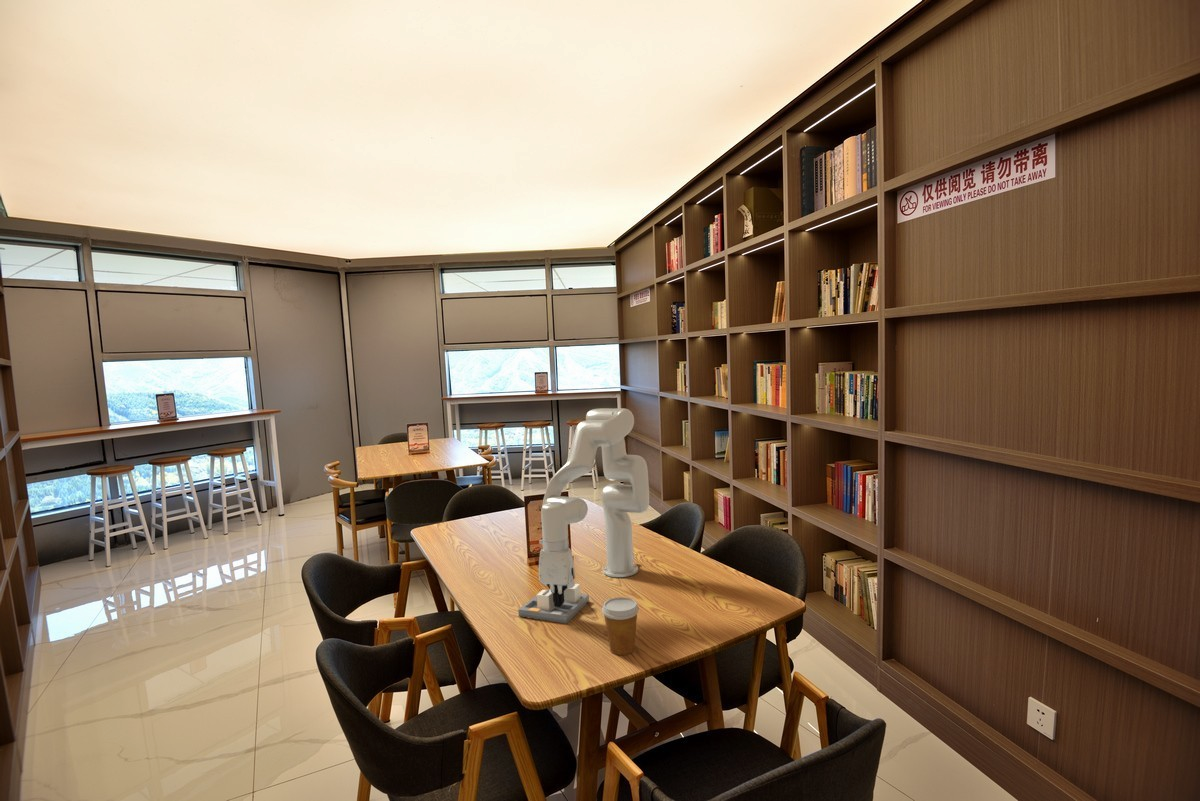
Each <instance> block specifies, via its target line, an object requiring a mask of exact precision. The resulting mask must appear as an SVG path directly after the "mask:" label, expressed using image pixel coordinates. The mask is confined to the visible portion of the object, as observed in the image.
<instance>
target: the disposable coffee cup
mask: <svg viewBox="0 0 1200 801" xmlns="http://www.w3.org/2000/svg"><path fill="white" fill-rule="evenodd" d="M603 602H604V603H603V606H602V608H601V612H602V614H603V617H604V621H605V628H606V634H607V640H608V646H609V651H610V652H611V653H612V654H613V655H617V656H627V655H631V654H632V653H633V652H634V651H635V648H636V647H635V646H636V635H637V634H636V633H637V620H638V612H639V610H640V608H639V606H638V603H637V601H636V600H635V599H633V598H631V597H622V596H621V597H620V596H619V597H618V596H617V597H611V598H609V599H607V600H605V601H603Z"/></svg>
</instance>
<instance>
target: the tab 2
mask: <svg viewBox="0 0 1200 801" xmlns="http://www.w3.org/2000/svg"><path fill="white" fill-rule="evenodd" d="M580 594H581V584H579V583H575V586H574V587H573V588H567V589H566V590H565V591H564V602H571V603H577V602H578V601H579V600H580V599H581V596H580Z"/></svg>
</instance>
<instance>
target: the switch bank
mask: <svg viewBox="0 0 1200 801" xmlns="http://www.w3.org/2000/svg"><path fill="white" fill-rule="evenodd" d="M543 590H550V589H549V588H548V589H545V588H544V589H543ZM550 591H551V590H550ZM580 596H581V599H580V600H579V601H578V602H577V603H571V602H564V603H563V604H562V605H561V606H560V607H557V606H556V607H555V608H554V609H553V610H552V611H549V610H542V609H538V608H537V594H536V595H535V596H533V597H532V598H531V599H529V601H527V602H526V603H525V604H523V605H522V606H521V607H520V608H518V610H517V611H518V617H519V616H522V617H521V618H524V617H529V618H528V619H531V618H534V620H538V619H540V621H545V620H547V622H554V623H561V624H568V623H569V622H570V621H571V620H572V619H573V618H574V617H575V616H577V615H578V613H579V612H580V611H581V610H582V609H583V608H584V607H585V606H587V604H588V603H589V602H590V597H589V596H590V595H589V594H586V593H580ZM587 602H588V603H587ZM586 603H587V604H586ZM583 606H584V607H583ZM582 607H583V608H582ZM581 608H582V609H581ZM580 609H581V610H580ZM579 610H580V611H579Z"/></svg>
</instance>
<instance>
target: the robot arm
mask: <svg viewBox="0 0 1200 801" xmlns="http://www.w3.org/2000/svg"><path fill="white" fill-rule="evenodd" d="M634 425H635V416H634V414H633V413H632V411H631V409H628V408H623V407H622V408H621V407H620V408H602V407H601V408H593V409H590V410H589V411H587V413H586V415H585V420H582V421H580V422H579V423H578V424H577V425H576V427H575V430H574V433H573V438H572V442H571V445H570V449H569V452H568V455H567V456H568V457H567V460H566V463H565V464H563V466H562V467H560V469H558V470H557V472H556V473H555V474H553V476H552V477H551V478H550V480H549V482H548V484H547V485H546V489H545V491H544V492H545V493H544V496H543V500H542V505H541V509H540V516H541V518H540V519H541V531H542V532H541V534H542V539H539V541H538V544H540V545H542V548H541V549H540V552H539V559H538V580H539V582H540V584H541V585H544V586H546V587H547V588H548V590H549V589H550V590H551V593H553V602H554V606H555V607H556V606H557V607H560V606H561V605H562V604H563V603H564V591H565V590H566V589H567V588H573V587H574V586H575V584H576V583H575V577H576V576H575V574H576V572H575V571H576V570H575V564H574V557H573V554H572V550H571V547H569V537H568V536H569V534H568V532H569V531H568V525H571V524H575V523H576V524H577V523H579V522H582V521H583V520H584V519H585V518H586V516H587V515H588V510H589V509H588V504H587V502H586V501H585V500H584V499H582V498H580V497H574V496H564V495H561V494H562V492H563V490H564V489H565V487H566V486H567V485H568V484H570V483H571V482H572V481H574V480H576V479H578V478H580V477H582V476H585V475H587V474H589V473H590V472H591V471H592V470H593V468H594V464H595V463H594V462H595V459H596V455H597V452H598V451H597V450H598V448H599V447H600V448H601V458H602V469H603V475H604V478H605V479H606V480H608V481H611V482H612V481H613V482H624V483H630V484H624V483H623V484H622V483H612V484H607V485H606V486H604V487H603V489H602V490H601V493H600V501H601V506H602V510H603V516H604V528H605V530H604V531H605V532H604V533H605V547H606V548H605V552H606V565H605V566H604V567H603V568H602V571H603V574H604V575H606V576H608V577H611V578H627V577H628V578H629V577H631V576H634V575H636V574H637V573H638V571H639V567H638V565H637V564H635V563H634V558H635V553H634V547H633V546H634V545H633V530H632V529H633V525H632V520H631V517H630V516H629V514H628V513H631V514H642V513H645V512H647V510H648V509H649V505H650V486H649V485H650V483H649V472H648V470H649V469H648V463H647V461H646V460H645V458H644V457H643V456H641V455H639V454H627V451H626V441H625V437H626V436H627V435H629V433H631V431H632V430H633V428H634Z"/></svg>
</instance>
